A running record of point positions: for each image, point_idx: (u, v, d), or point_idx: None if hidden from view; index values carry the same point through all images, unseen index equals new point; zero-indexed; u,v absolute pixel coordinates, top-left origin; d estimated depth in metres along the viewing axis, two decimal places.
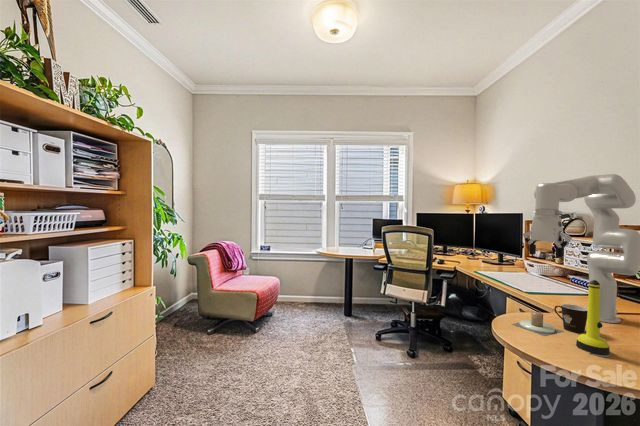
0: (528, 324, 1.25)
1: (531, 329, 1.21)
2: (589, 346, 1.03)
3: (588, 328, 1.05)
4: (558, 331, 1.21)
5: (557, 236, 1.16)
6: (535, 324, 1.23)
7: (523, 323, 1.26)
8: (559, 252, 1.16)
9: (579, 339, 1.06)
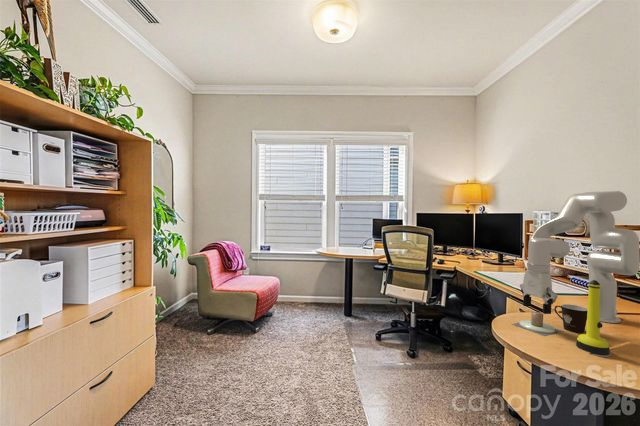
0: (528, 324, 1.25)
1: (531, 329, 1.21)
2: (589, 346, 1.03)
3: (588, 328, 1.05)
4: (558, 331, 1.21)
5: None
6: (535, 324, 1.23)
7: (523, 323, 1.26)
8: None
9: (579, 339, 1.06)
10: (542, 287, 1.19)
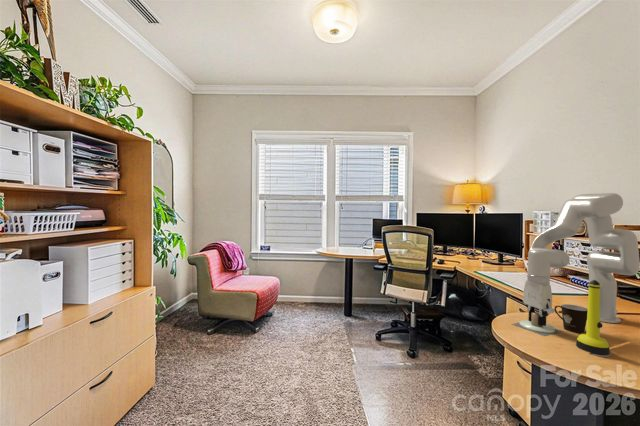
0: (528, 324, 1.25)
1: (531, 329, 1.21)
2: (589, 346, 1.03)
3: (588, 328, 1.05)
4: (558, 331, 1.21)
5: None
6: (535, 324, 1.23)
7: (523, 323, 1.26)
8: None
9: (579, 339, 1.06)
10: (542, 298, 1.19)
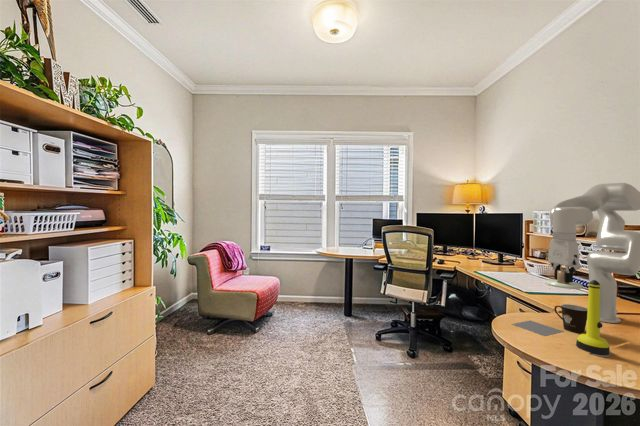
0: (554, 282, 1.25)
1: (558, 286, 1.21)
2: (589, 346, 1.03)
3: (588, 328, 1.05)
4: (558, 331, 1.21)
5: None
6: (561, 281, 1.23)
7: (549, 281, 1.26)
8: None
9: (579, 339, 1.06)
10: (569, 255, 1.19)
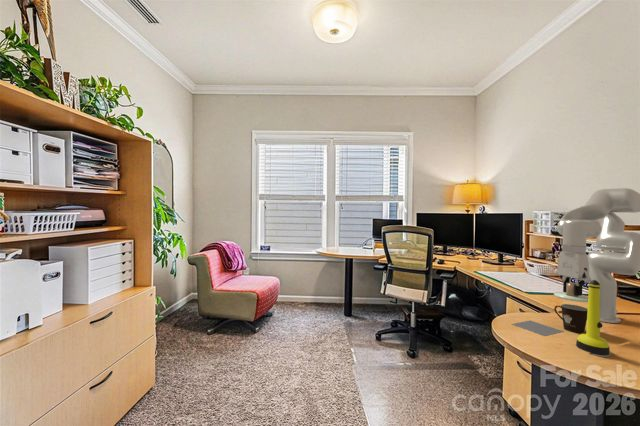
0: (563, 295, 1.24)
1: (567, 298, 1.20)
2: (589, 346, 1.03)
3: (588, 328, 1.05)
4: (558, 331, 1.21)
5: None
6: (571, 294, 1.23)
7: (558, 294, 1.26)
8: None
9: (579, 339, 1.06)
10: (579, 267, 1.19)
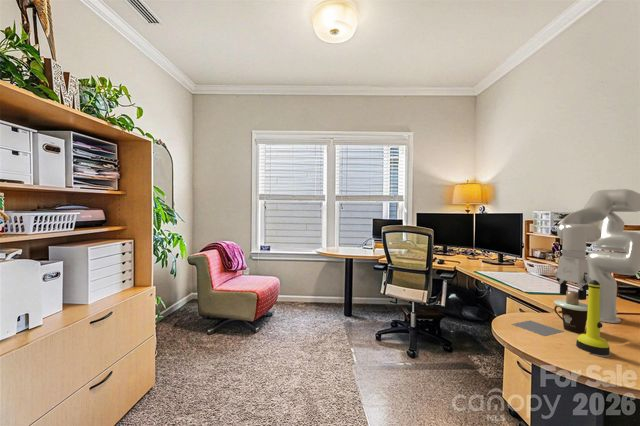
0: (563, 303, 1.24)
1: (567, 307, 1.20)
2: (589, 346, 1.03)
3: (588, 328, 1.05)
4: (558, 331, 1.21)
5: None
6: (571, 302, 1.23)
7: (558, 302, 1.26)
8: None
9: (579, 339, 1.06)
10: (579, 272, 1.19)
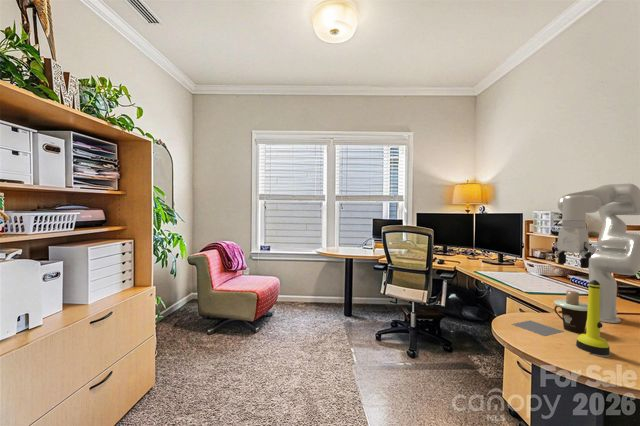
0: (563, 303, 1.24)
1: (567, 307, 1.20)
2: (589, 346, 1.03)
3: (588, 328, 1.05)
4: (558, 331, 1.21)
5: None
6: (571, 302, 1.23)
7: (558, 302, 1.26)
8: None
9: (579, 339, 1.06)
10: (579, 242, 1.20)
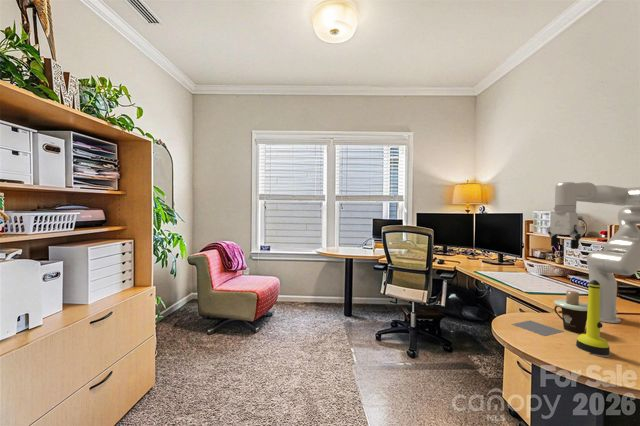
0: (563, 303, 1.24)
1: (567, 307, 1.20)
2: (589, 346, 1.03)
3: (588, 328, 1.05)
4: (558, 331, 1.21)
5: None
6: (571, 302, 1.23)
7: (558, 302, 1.26)
8: None
9: (579, 339, 1.06)
10: (570, 224, 1.30)
